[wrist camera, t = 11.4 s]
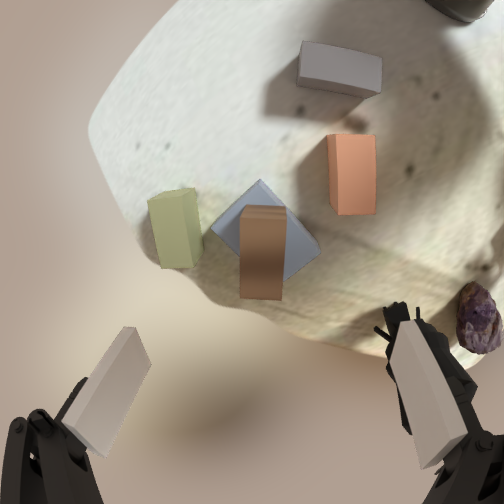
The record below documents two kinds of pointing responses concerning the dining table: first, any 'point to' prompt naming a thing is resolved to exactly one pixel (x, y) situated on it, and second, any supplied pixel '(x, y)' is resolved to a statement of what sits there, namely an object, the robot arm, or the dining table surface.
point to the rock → (478, 320)
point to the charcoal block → (339, 70)
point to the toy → (435, 343)
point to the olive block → (176, 228)
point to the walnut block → (262, 251)
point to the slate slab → (297, 236)
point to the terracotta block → (352, 173)
